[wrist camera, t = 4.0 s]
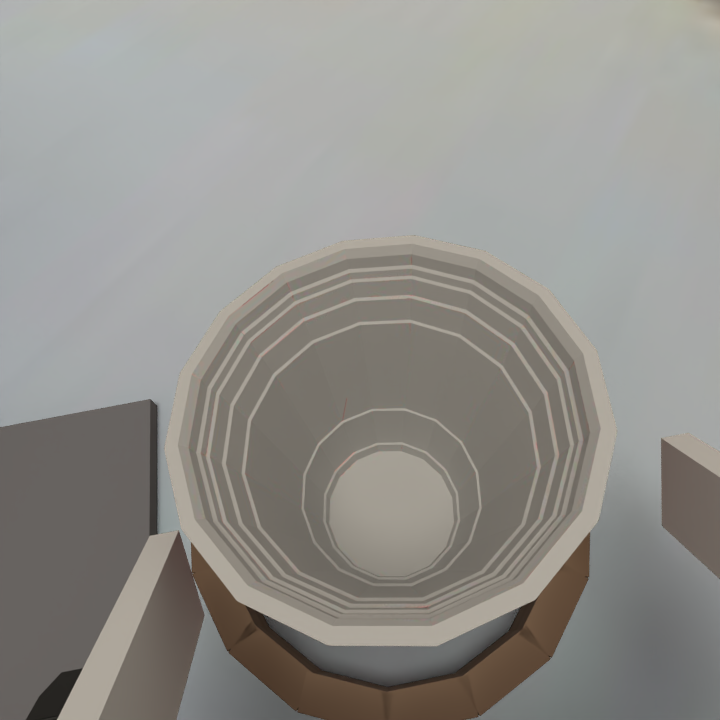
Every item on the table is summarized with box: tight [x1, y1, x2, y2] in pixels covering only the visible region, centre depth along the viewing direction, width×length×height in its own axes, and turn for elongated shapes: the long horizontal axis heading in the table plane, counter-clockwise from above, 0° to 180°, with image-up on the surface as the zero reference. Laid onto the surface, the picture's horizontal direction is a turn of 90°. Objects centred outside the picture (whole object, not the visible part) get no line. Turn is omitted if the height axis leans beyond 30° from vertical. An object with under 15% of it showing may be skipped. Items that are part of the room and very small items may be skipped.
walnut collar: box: [191, 532, 590, 720], centre depth 22 cm, size 15×18×4 cm
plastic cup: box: [164, 235, 617, 646], centre depth 18 cm, size 11×11×12 cm
